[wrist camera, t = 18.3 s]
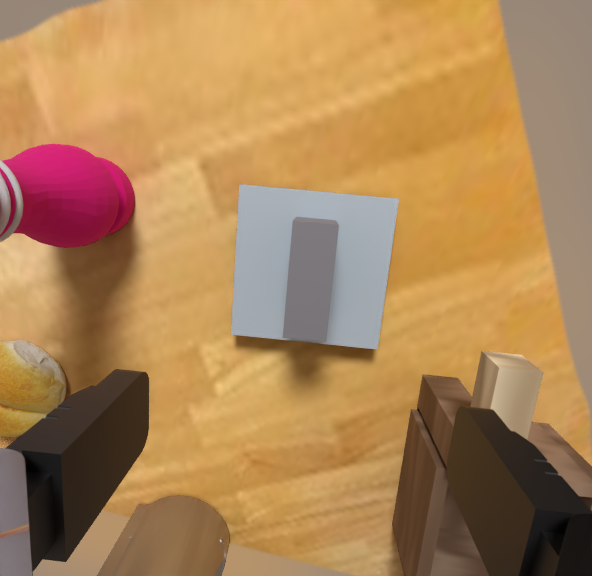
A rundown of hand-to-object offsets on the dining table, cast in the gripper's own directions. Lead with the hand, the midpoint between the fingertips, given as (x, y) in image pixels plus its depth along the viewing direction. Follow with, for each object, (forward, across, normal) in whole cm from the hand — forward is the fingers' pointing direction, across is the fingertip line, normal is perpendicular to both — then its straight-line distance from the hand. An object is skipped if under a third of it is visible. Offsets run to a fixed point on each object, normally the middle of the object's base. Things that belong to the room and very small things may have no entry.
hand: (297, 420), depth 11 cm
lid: (+24, 0, 0) cm, 24 cm away
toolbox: (+24, -16, +16) cm, 33 cm away
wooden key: (+15, -12, +6) cm, 20 cm away
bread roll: (+24, +26, +14) cm, 38 cm away
